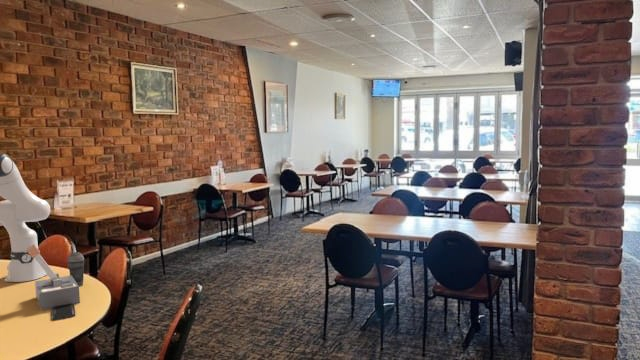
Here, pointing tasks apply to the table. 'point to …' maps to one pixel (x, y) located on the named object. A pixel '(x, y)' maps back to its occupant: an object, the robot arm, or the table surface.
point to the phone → (63, 311)
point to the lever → (41, 261)
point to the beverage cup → (76, 266)
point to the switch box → (57, 292)
